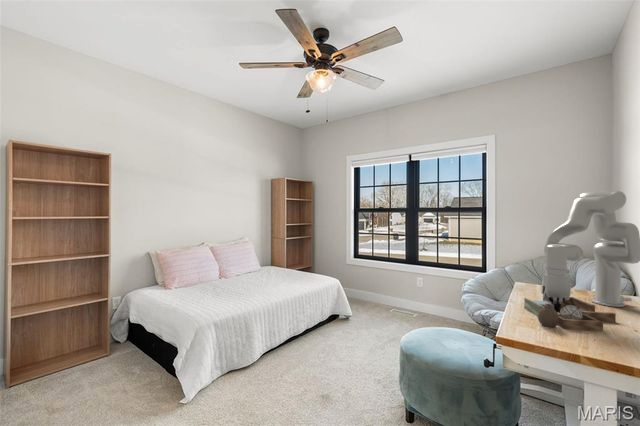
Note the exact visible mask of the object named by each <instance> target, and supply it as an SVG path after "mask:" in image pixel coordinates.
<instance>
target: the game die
mask: <svg viewBox="0 0 640 426" xmlns="http://www.w3.org/2000/svg"><path fill="white" fill-rule="evenodd" d="M563 306H564V307H563V308H561V309H560V308H559V309H560V313H559V314H558V315H559V316H561V317H563V318H564V319H575V320H584V319H582V314H584V312H583V313H582V312H581V311H580V310H579V308H580V307H578V308H577V307H575V306H573V305H572V303H571V305H567V306H565V305H564V304H563Z"/></svg>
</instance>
